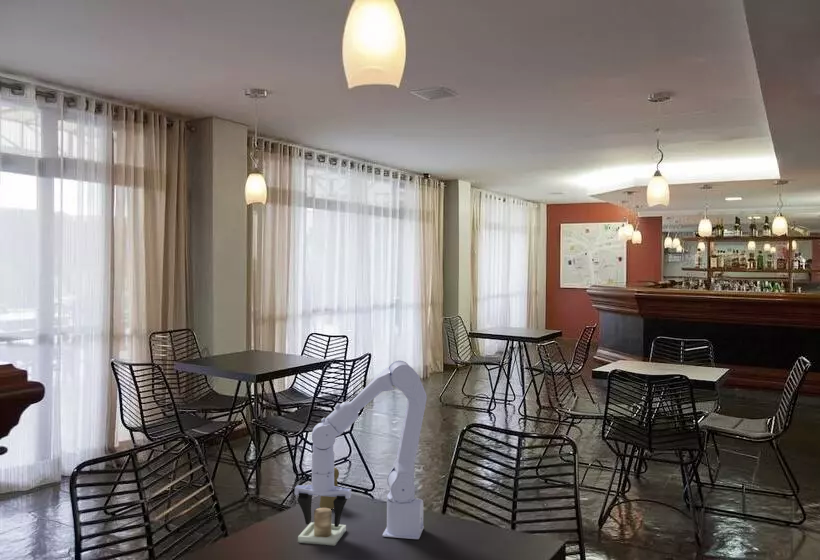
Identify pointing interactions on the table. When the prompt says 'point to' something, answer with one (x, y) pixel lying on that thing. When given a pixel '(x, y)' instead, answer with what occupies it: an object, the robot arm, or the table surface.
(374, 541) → the table surface
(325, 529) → the beech cylinder
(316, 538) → the sage tray
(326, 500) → the olive tapered cylinder
